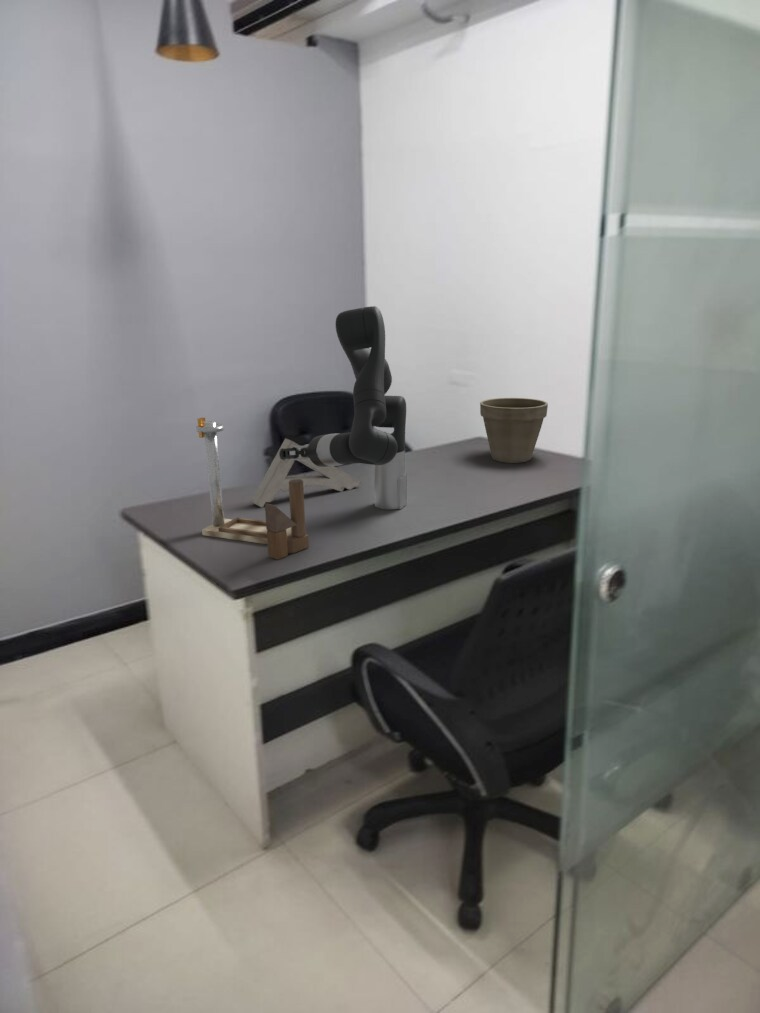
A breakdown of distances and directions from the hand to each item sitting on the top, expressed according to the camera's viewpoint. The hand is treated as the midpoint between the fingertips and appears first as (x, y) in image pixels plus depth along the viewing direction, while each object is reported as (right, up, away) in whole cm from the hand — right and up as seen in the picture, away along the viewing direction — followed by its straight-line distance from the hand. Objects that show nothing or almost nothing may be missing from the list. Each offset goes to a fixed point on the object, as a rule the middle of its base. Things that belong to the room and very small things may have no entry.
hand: (296, 454), depth 172 cm
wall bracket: (-2, -10, +45) cm, 46 cm away
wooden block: (-2, -25, 0) cm, 25 cm away
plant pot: (+71, +5, +88) cm, 113 cm away
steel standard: (-23, -20, +16) cm, 34 cm away
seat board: (-14, -21, +12) cm, 28 cm away
